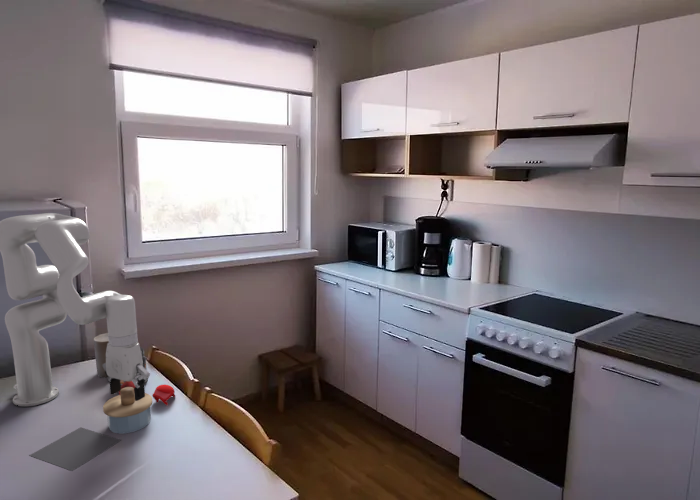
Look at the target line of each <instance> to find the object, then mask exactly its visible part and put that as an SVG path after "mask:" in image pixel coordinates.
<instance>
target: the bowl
mask: <svg viewBox="0 0 700 500" xmlns="http://www.w3.org/2000/svg"><path fill="white" fill-rule="evenodd" d="M151 420H152V413H151V406H150V407H149V408H148V409H147V410H145V411H143V412H141V413H138V414H136V415H132V416H127V417H111V416H107V426H108V428H109V430H110V431H111V432H112V433H115V434H129V433H134V432H136V431H139V430H141V429H143V428H145V427H147V426H148V424H150V422H151Z"/></svg>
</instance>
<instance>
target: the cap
mask: <svg viewBox="0 0 700 500" xmlns="http://www.w3.org/2000/svg"><path fill="white" fill-rule="evenodd" d="M176 396H177V395H175V389H174V387H173V386H171V385H169V384H160V385H157V387H155V390H154V392H153V393H152V395H151V397H152V399H154V400H155V402H156V403H160V402H162V403H163V404H164V405H165V406H168V405H169V403H168V400H169V399H171V398H176ZM159 401H160V402H159Z"/></svg>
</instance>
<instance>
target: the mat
mask: <svg viewBox="0 0 700 500" xmlns="http://www.w3.org/2000/svg"><path fill="white" fill-rule="evenodd" d="M121 441H122V439H120V438H117V437H114V436H110V435H107V434H104V433H100V432H97V431H94V430H90V429H88V428H84V427H79V428H76V429H75V430H73V431H71V432H69V433H68V434H65V435H64V436H62V437H60V438H59V439H57V440H54V441H53V442H51V443H49V444H47V445H45V446H44V447H42V448H40V449H39V450H36V451H34V452H32V453H31V454H29V457H32V458H35V459H37V460H41V461H42V462H46V463H48V464H52V465H54V466H56V467H60V468H63V469H66V470H68V471H71V472H73V471H75V470H76V469H77V468H80V467H81V466H83V465H84V464H86V463H87V462H90V460H92V459H94V458H96V457H97V456H98V455H101V454H102V453H103V452H106V451H107V450H108V449H110V448H112V447H113V446H114V445H117V444H119V443H120V442H121Z"/></svg>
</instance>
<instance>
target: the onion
mask: <svg viewBox="0 0 700 500" xmlns="http://www.w3.org/2000/svg"><path fill="white" fill-rule="evenodd" d="M125 387H133V388H135V385H134V383H133V382H132V381H126V382H124V383H123V384H122V385H121V389H123V388H125ZM118 395H120V391H119V392H118Z"/></svg>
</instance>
